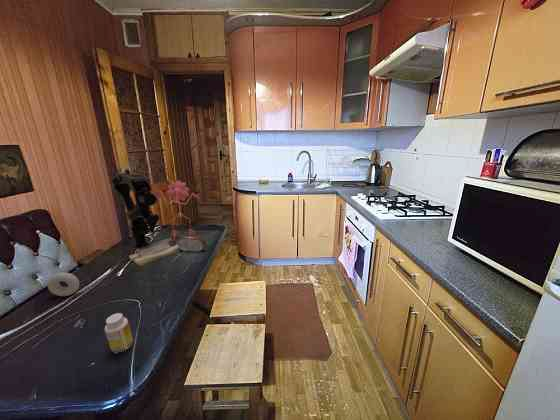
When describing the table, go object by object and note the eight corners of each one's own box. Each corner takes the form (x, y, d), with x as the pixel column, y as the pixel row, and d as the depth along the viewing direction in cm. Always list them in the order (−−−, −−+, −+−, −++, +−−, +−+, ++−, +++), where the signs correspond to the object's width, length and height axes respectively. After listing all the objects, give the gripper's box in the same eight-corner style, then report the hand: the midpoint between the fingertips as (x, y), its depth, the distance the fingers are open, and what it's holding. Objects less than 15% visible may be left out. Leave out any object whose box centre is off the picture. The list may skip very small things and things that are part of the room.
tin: (207, 250, 128) (205, 235, 125) (204, 252, 125) (202, 238, 122) (180, 249, 129) (178, 235, 127) (177, 252, 126) (175, 237, 124)
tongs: (173, 243, 133) (172, 236, 132) (176, 244, 131) (175, 238, 130) (138, 256, 120) (137, 249, 119) (141, 258, 118) (140, 250, 116)
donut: (84, 290, 96) (77, 269, 93) (79, 295, 93) (72, 273, 90) (55, 294, 94) (47, 272, 91) (49, 300, 91) (41, 277, 88)
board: (129, 258, 121) (128, 255, 120) (170, 243, 137) (170, 240, 137) (140, 266, 113) (139, 263, 113) (182, 249, 129) (182, 246, 129)
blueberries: (92, 315, 83) (91, 310, 83) (98, 324, 78) (96, 319, 78) (68, 326, 79) (66, 321, 78) (72, 337, 73) (70, 332, 73)
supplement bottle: (129, 335, 73) (122, 308, 70) (136, 344, 70) (128, 316, 67) (108, 347, 69) (99, 319, 66) (114, 358, 66) (105, 328, 63)
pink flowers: (204, 239, 141) (196, 181, 131) (159, 242, 138) (148, 183, 129) (209, 230, 156) (202, 177, 146) (168, 233, 153) (159, 179, 143)
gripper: (117, 203, 119) (124, 231, 124) (132, 209, 108) (139, 240, 113) (140, 198, 128) (146, 225, 132) (157, 203, 117) (162, 232, 121)
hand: (148, 230), depth 125 cm, fingers open, 9 cm apart
